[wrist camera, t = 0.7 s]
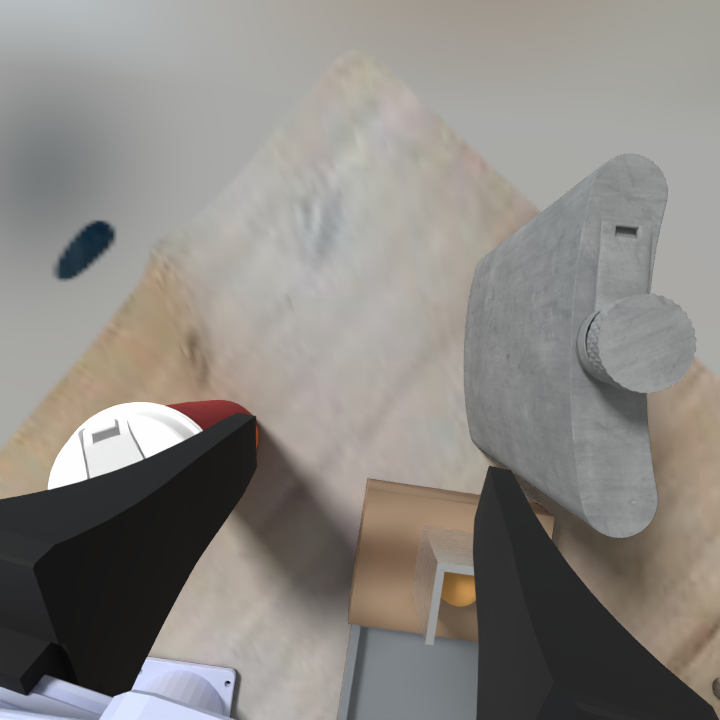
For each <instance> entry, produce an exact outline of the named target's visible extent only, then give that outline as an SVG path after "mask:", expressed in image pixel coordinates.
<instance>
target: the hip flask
mask: <svg viewBox="0 0 720 720" xmlns="http://www.w3.org/2000/svg"><path fill="white" fill-rule="evenodd" d="M667 196H668V188H667V183H666V179H665V177H664V175H663V173H662V171H661V170H660V168H659V167H658V166H657V165H656V164H655V163H654V162H653V161H651V160H650V159H648V158H646V157H644V156H641V155H638V154H622V155H618V156H615V157H613V158H611V159H609V160H608V161H607V162H605V163H604V164H603V165H601V166H600V167H599V168H598V169H596V170H595V171H594V172H592V173H591V174H590V175H589V176H587V177H586V178H585V179H583V180H582V181H581V182H580V183H578V184H577V185H576V186H575V187H573V188H572V189H571V190H570V191H568V192H567V193H566V194H564V195H563V196H562V197H560V198H559V199H558V200H557V201H555V202H554V203H553V204H551V205H550V206H549V207H548V208H546V209H545V210H544V211H542V212H541V213H540V214H539V215H537V216H536V217H535V218H533V219H532V220H531V221H530V222H528V223H527V224H526V225H525V226H523V227H522V228H521V229H519V230H518V231H517V232H516V233H514V234H513V235H512V236H510V237H509V238H508V239H507V240H505V241H504V242H503V243H501V244H500V245H499V246H498V247H496V248H495V249H494V250H492V251H491V252H490V253H489V254H487V255H486V256H485V257H484V258H482V259H481V260H480V261H479V263H478V264H477V266H476V269H475V273H474V277H473V281H472V286H471V291H470V296H469V303H468V309H467V318H466V327H465V342H464V389H465V402H466V411H467V419H468V425H469V431H470V436H471V439H472V441H473V443H474V444H475V445H476V446H477V447H478V448H480V449H481V450H483V451H484V452H486V453H487V454H488V455H490V456H491V457H493V458H494V459H496V460H497V461H498V462H500V463H501V464H503V465H504V466H506V467H507V468H508V469H510V470H511V471H513V472H514V473H515V474H517V475H518V476H520V477H521V478H523V479H524V480H525V481H527V482H528V483H530V484H531V485H533V486H534V487H535V488H537V489H538V490H540V491H541V492H543V493H544V494H545V495H547V496H548V497H550V498H551V499H552V500H554V501H555V502H557V503H558V504H560V505H561V506H562V507H564V508H565V509H567V510H568V511H570V512H571V513H572V514H574V515H575V516H577V517H578V518H580V519H581V520H582V521H584V522H585V523H587V524H588V525H589V526H591V527H592V528H594V529H595V530H597V531H598V532H600V533H602V534H603V535H605V536H609V537H612V538H627V537H631V536H634V535H636V534H638V533H640V532H641V531H642V530H644V529H645V528H646V527H647V526H648V525H649V523H650V522H651V521H652V519H653V517H654V515H655V513H656V509H657V504H658V495H657V488H656V483H655V477H654V472H653V465H652V457H651V450H650V441H649V430H648V416H647V397H646V393H653V392H660V391H662V390H664V389H668V388H670V387H671V386H672V385H674V384H676V383H678V381H679V380H680V379H681V378H683V377H684V376H685V374H686V372H687V371H688V370H689V369H690V366H691V363H692V362H693V360H694V354H695V352H696V337H695V330H694V328H693V326H692V322H691V320H690V319H689V318H688V316H687V313H686V312H685V311H683V310H682V308H681V307H680V306H679V305H677V304H675V303H674V302H673V301H672V300H670V299H667V298H665V297H664V296H657V295H655V294H650V290H651V281H652V273H653V266H654V260H655V253H656V247H657V242H658V237H659V232H660V227H661V223H662V219H663V214H664V211H665V206H666V202H667Z"/></svg>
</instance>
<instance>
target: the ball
mask: <svg viewBox="0 0 720 720" xmlns="http://www.w3.org/2000/svg"><path fill="white" fill-rule="evenodd" d="M441 598H442V599H443V600H444V601H446V602H447V603H449V604H451V605H454V606H459V607H462V606H467V605H470V604H472V603H473V602H474V601H476V594H475V580H474V576H473V575H466V574H459V573H452V572H444V579H443V585H442V592H441Z"/></svg>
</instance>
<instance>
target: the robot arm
mask: <svg viewBox="0 0 720 720" xmlns="http://www.w3.org/2000/svg"><path fill="white" fill-rule="evenodd" d="M256 468H257V460H256V416H253V415H248V414H243V413H236V414H234V415H231V416H229V417H228V418H226V419H224V420H222V421H220V422H218V423H216V424H214V425H213V426H211V427H209V428H207V429H205V430H203V431H201V432H199V433H198V434H196V435H194V436H192V437H190V438H188V439H186V440H184V441H182V442H180V443H178V444H176V445H174V446H172V447H170V448H167V449H165V450H163V451H161V452H159V453H157V454H155V455H153V456H150V457H148V458H146V459H143V460H141V461H138V462H136V463H133V464H131V465H128V466H126V467H123V468H120V469H118V470H115V471H112V472H109V473H106V474H103V475H99V476H96V477H93V478H90V479H87V480H83V481H80V482H77V483H73V484H70V485H66V486H62V487H58V488H54V489H50V490H45V491H41V492H37V493H32V494H27V495H22V496H17V497H11V498H6V499H0V720H235V719H232V718H230V712H231V705H232V698H233V692H234V685H235V679H236V672H235V670H233V669H231V668H225V667H217V666H210V665H203V664H196V663H189V662H182V661H175V660H168V659H161V658H154V657H147V656H148V654H149V652H150V650H151V648H152V646H153V644H154V642H155V640H156V638H157V636H158V634H159V632H160V630H161V628H162V626H163V624H164V622H165V620H166V618H167V616H168V614H169V612H170V610H171V609H172V607H173V605H174V603H175V601H176V599H177V597H178V595H179V593H180V592H181V590H182V588H183V586H184V584H185V583H186V581H187V579H188V577H189V575H190V574H191V572H192V570H193V568H194V566H195V565H196V563H197V562H198V560H199V558H200V557H201V555H202V554H203V552H204V551H205V549H206V548H207V547H208V545H209V544H210V542H211V541H212V539H213V538H214V536H215V535H216V534H217V532H218V531H219V529H220V528H221V526H222V525H223V523H224V522H225V521H226V519H227V518H228V516H229V515H230V513H231V512H232V510H233V509H234V507H235V506H236V504H237V503H238V501H239V500H240V498H241V497H242V495H243V494H244V492H245V490H246V488H247V486H248V484H249V482H250V480H251V478H252V476H253V474H254V472H255V470H256ZM473 565H474V580H475V594H476V608H477V622H478V687H477V715H476V720H719V719H718V717H717V715H716V713H715V711H714V709H713V707H712V706H711V705H710V704H708V703H707V702H706V701H705V700H704V699H703V698H701V697H700V696H699V695H698V694H697V693H695V692H694V691H693V690H692V689H691V688H690V687H688V686H687V685H686V684H685V683H684V682H682V681H681V680H680V679H679V678H678V677H677V676H675V675H674V674H673V673H672V672H671V671H669V670H668V669H667V668H666V667H665V666H664V665H663V664H661V663H660V662H659V661H658V660H657V659H656V658H655V657H654V656H653V655H652V654H651V653H650V652H649V651H648V650H646V649H645V648H644V647H643V646H642V645H641V644H640V643H639V642H638V641H637V640H636V639H635V638H634V637H633V636H632V635H631V634H630V633H629V632H628V631H627V630H626V629H625V628H624V627H623V626H622V625H621V624H620V623H619V622H618V621H617V620H616V619H615V618H614V617H613V616H612V615H611V614H610V612H609V611H608V610H607V609H606V608H605V607H604V606H603V605H602V604H601V603H600V602H599V601H598V600H597V598H596V597H595V596H594V595H593V594H592V593H591V592H590V590H589V589H588V588H587V587H586V586H585V584H584V583H583V582H582V581H581V579H580V578H579V577H578V576H577V574H576V573H575V572H574V571H573V570H572V568H571V567H570V566H569V564H568V563H567V562H566V560H565V559H564V557H563V556H562V555H561V553H560V552H559V550H558V549H557V547H556V546H555V544H554V543H553V542H552V540H551V538H550V537H549V535H548V534H547V532H546V531H545V529H544V528H543V526H542V524H541V523H540V521H539V519H538V518H537V516H536V515H535V513H534V511H533V509H532V508H531V506H530V504H529V502H528V501H527V499H526V497H525V495H524V493H523V492H522V490H521V488H520V486H519V484H518V482H517V480H516V478H515V476H514V474H513V473H512V472H511V470H506V469H501V468H496V467H492V466H489V468H488V471H487V475H486V479H485V482H484V486H483V489H482V493H481V496H480V500H479V504H478V507H477V511H476V514H475V518H474V533H473ZM141 669H142V671H140V670H141ZM226 681H230V682H231V683H230V684H228V683H227V682H226Z"/></svg>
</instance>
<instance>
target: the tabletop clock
mask: <svg viewBox="0 0 720 720" xmlns="http://www.w3.org/2000/svg"><path fill="white" fill-rule="evenodd" d="M713 690H714V693H715V694H716V695H717V696H718V697H719V698H720V678H718V679H716V680H715V681H714V682H713Z"/></svg>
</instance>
